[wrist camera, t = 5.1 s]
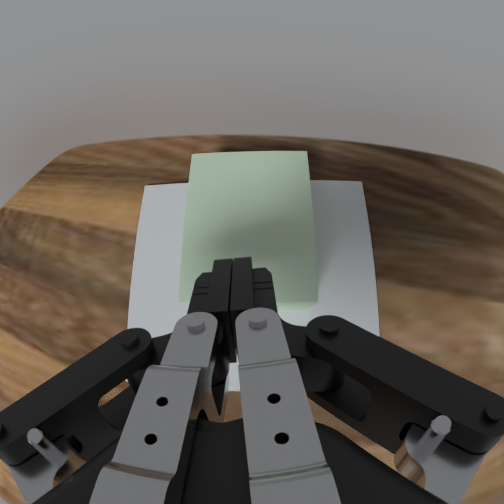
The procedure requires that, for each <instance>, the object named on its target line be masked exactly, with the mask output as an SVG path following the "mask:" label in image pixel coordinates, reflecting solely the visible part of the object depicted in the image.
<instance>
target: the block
mask: <svg viewBox="0 0 504 504" xmlns="http://www.w3.org/2000/svg"><path fill="white" fill-rule="evenodd" d="M240 257H251V258H252V268H263V267H266V268H267V269H268V270H269V271H270V272H271V273H272V279H273V285H274V292H275V298H276V305H277V311H278V312H304V311H310V310H311V309H312V308H313V307H314V306H315V305H316V304H317V302H318V301H319V299H318V278H317V260H316V245H315V231H314V218H313V206H312V195H311V185H310V175H309V166H308V157H307V151H246V152H220V153H202V154H192V160H191V167H190V175H189V183H188V192H187V201H186V210H185V220H184V230H183V241H182V253H181V266H180V281H179V297H178V302H180V303H181V304H183V305H185V306H186V307H188V308H189V304H190V300H191V296H192V292H193V289H194V284H195V280H196V279H197V278H198V277H199V276H200V275H201V274H202V273H205V272H212V268H213V263H214V260H218V259H229V258H232V259H233V258H240Z"/></svg>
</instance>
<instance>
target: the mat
mask: <svg viewBox="0 0 504 504" xmlns="http://www.w3.org/2000/svg"><path fill="white" fill-rule="evenodd" d="M310 185H311V195H312V206H313V218H314V231H315V245H316V260H317V278H318V299H319V301H318V302H317V304H316V305H315V306H314V307H313V308H312V309H311V310H310V311H304V312H278V315H279V316H280V318H281V319H283V320H284V321H285V322H287V323H290V324H293V325H297V326H307V324H308V323H309V322H310V321H311V320H312V319H314V318H316V317H319V316H323V315H334V316H338V317H341V318H343V319H345V320H347V321H349V322H351V323H353V324H355V325H357V326H359V327H361V328H363V329H365V330H367V331H369V332H371V333H373V334H375V335H377V336H379V316H378V301H377V289H376V278H375V268H374V259H373V251H372V243H371V235H370V228H369V221H368V215H367V209H366V203H365V197H364V191H363V186H362V181H333V180H310ZM187 192H188V183H176V184H162V185H148V186H145V189H144V195H143V200H142V206H141V212H140V218H139V225H138V231H137V238H136V246H135V253H134V262H133V270H132V280H131V290H130V301H129V315H128V329H130V328H143V329H145V330H147V331H148V332H149V333H150V335H151V337H152V338H154V337H158V336H162V335H166V334H169V333H171V332H173V329H174V327H175V324H176V323H177V321H178V320H179V319H180V318H182V317H183V316H185V315H187V312H188V307H186V306H185V305H183V304H181V303H180V302H178V297H179V281H180V266H181V253H182V241H183V230H184V220H185V210H186V201H187ZM379 337H380V336H379ZM238 366H239V361H238V356H237V363H229V373H228V375H229V387H228V391H240V382H239V372H238ZM126 382H128V381H127V379H126Z"/></svg>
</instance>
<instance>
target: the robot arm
mask: <svg viewBox="0 0 504 504" xmlns="http://www.w3.org/2000/svg"><path fill="white" fill-rule="evenodd" d="M237 356H238V361H239V366H238V372H239V382H240V393H241V403H242V413H243V418H241V419H237V420H233V421H229V422H225V423H224V416H225V409H226V401H227V394H228V387H229V375H228V373H229V363H237ZM125 379H127V381H128V382H129V384H130V386H129V387H127V388H126V389H125V390H123V391H122V392H121V393H119V394H118V395H117V396H115V397H114V398H113V399H111V400H110V401H109V402H107V403H106V404H104V405H103V406H101V407H98V402H99V400H100V398H101V397H102V396H103V395H105V394H106V393H108V392H109V391H110V390H112V389H113V388H115V387H116V386H117V385H119V384H120V383H121V382H123V381H124V380H125ZM307 397H308V398H310V399H311V400H312V401H314V402H315V403H317V404H318V405H319V406H321V407H322V408H324V409H325V410H327V411H328V412H330V413H331V414H333V415H334V416H335V417H337V418H338V419H340V420H341V421H343V422H344V423H346V424H347V425H349V426H350V427H352V428H353V429H355V430H357V431H358V432H360V433H361V434H363V435H364V436H366V437H367V438H369V439H371V440H372V441H374V442H375V443H377V444H379V445H380V446H382V447H383V448H385V449H387V450H388V451H390V452H392V453H393V454H395V456H394V464H395V467H396V469H397V471H398V472H399V473H398V472H397V471H395V470H393V469H392V468H390V467H389V466H387V465H386V464H384V463H383V462H381V461H380V460H378V459H377V458H376V457H374V456H373V455H371V454H370V453H368V452H367V451H365V450H364V449H363V448H361V447H360V446H358V445H357V444H356V443H354V442H353V441H351V440H350V439H349V438H347V437H346V436H345V435H343V434H342V433H340V432H339V431H337V430H335V429H333V428H331V427H329V426H326V425H324V424H320V423H317V422H314V419H313V416H312V412H311V409H310V405H309V402H308V398H307ZM503 436H504V398H503V397H501V396H499V395H497V394H495V393H493V392H491V391H489V390H487V389H485V388H483V387H480V386H478V385H476V384H474V383H472V382H470V381H468V380H466V379H464V378H462V377H460V376H458V375H456V374H454V373H451V372H449V371H447V370H445V369H443V368H441V367H439V366H437V365H435V364H433V363H431V362H429V361H427V360H425V359H423V358H421V357H419V356H417V355H415V354H413V353H411V352H409V351H407V350H405V349H403V348H401V347H399V346H397V345H395V344H393V343H391V342H389V341H387V340H385V339H383V338H381V337H379V336H377V335H375V334H373V333H371V332H369V331H367V330H365V329H363V328H361V327H359V326H357V325H355V324H353V323H351V322H349V321H347V320H345V319H343V318H341V317H338V316H334V315H323V316H319V317H316V318H314V319H312V320H311V321H310V322H309V323H308V324H307V326H297V325H293V324H290V323H287V322H285V321H284V320H283V319H281V318H280V316H279V315H278V311H277V305H276V298H275V292H274V285H273V279H272V273H271V272H270V271H269V270H268V269H267V268H266V267H263V268H252V258H251V257H240V258H233V259H232V258H229V259H218V260H214V263H213V268H212V272H205V273H202V274H201V275H200V276H199V277H198V278H197V279H196V280H195V284H194V289H193V292H192V296H191V300H190V304H189V308H188V312H187V315H185V316H183V317H182V318H180V319H179V320H178V321H177V323H176V324H175V327H174V329H173V332H171V333H169V334H166V335H162V336H158V337H154V338H152V337H151V335H150V333H149V332H148V331H147V330H145V329H143V328H130V329H127V330H124V331H122V332H120V333H119V334H117V335H116V336H114V337H113V338H111V339H110V340H108V341H107V342H105V343H104V344H102V345H101V346H99V347H98V348H96V349H94V350H93V351H91V352H90V353H88V354H87V355H85V356H84V357H82V358H81V359H79V360H78V361H76V362H75V363H73V364H72V365H70V366H69V367H67V368H66V369H64V370H63V371H61V372H60V373H58V374H57V375H55V376H54V377H52V378H51V379H49V380H48V381H46V382H45V383H43V384H42V385H40V386H39V387H37V388H36V389H34V390H33V391H31V392H30V393H28V394H27V395H25V396H24V397H22V398H21V399H19V400H18V401H16V402H15V403H13V404H12V405H10V406H9V407H7V408H6V409H4V410H3V411H1V412H0V459H2V461H3V462H4V463H5V464H6V465H7V466H8V467H9V468H10V471H11V473H12V475H13V477H14V479H15V481H16V483H17V485H18V487H19V489H20V491H21V493H22V495H23V497H24V499H25V501H26V503H27V504H458V503H459V502H460V500H461V498H462V497H463V495H464V493H465V492H466V490H467V488H468V486H469V485H470V483H471V481H472V479H473V477H474V475H475V474H476V472H477V470H478V468H479V466H480V464H481V462H482V460H483V458H484V456H485V455H486V454H487V453H488V452H489V451H490V450H491V449H492V448H493V446H494V445H495V444H496V443H497V442H498V441H499V440H500V439H501V438H502V437H503Z"/></svg>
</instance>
